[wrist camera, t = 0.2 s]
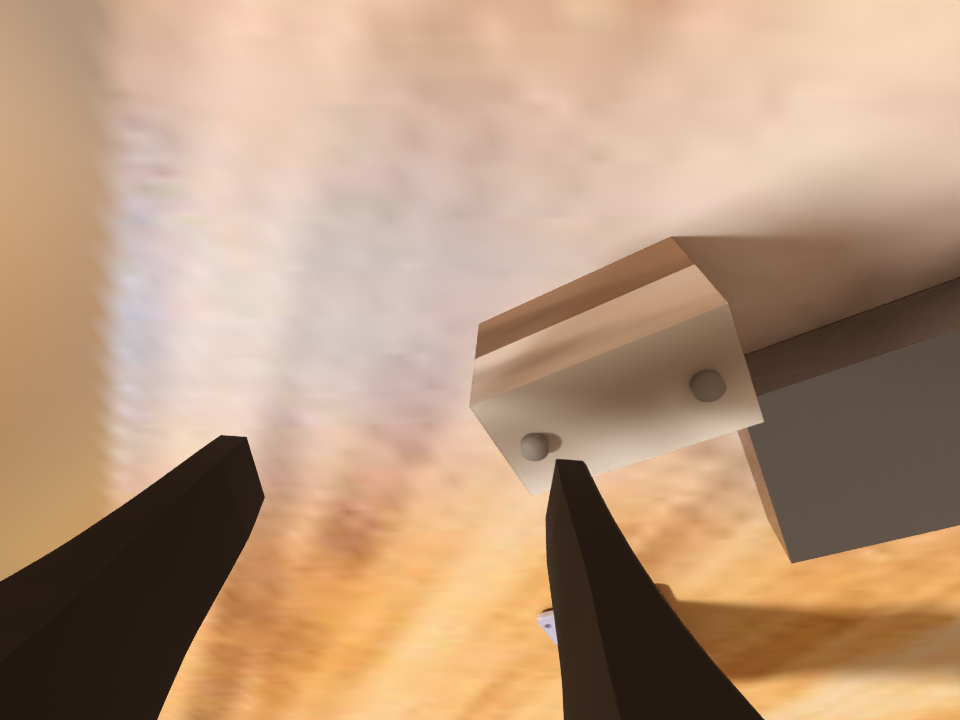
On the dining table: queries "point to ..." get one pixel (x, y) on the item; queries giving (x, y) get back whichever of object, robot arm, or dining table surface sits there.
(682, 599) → the dining table surface
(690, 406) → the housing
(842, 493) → the stand
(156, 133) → the dining table surface
